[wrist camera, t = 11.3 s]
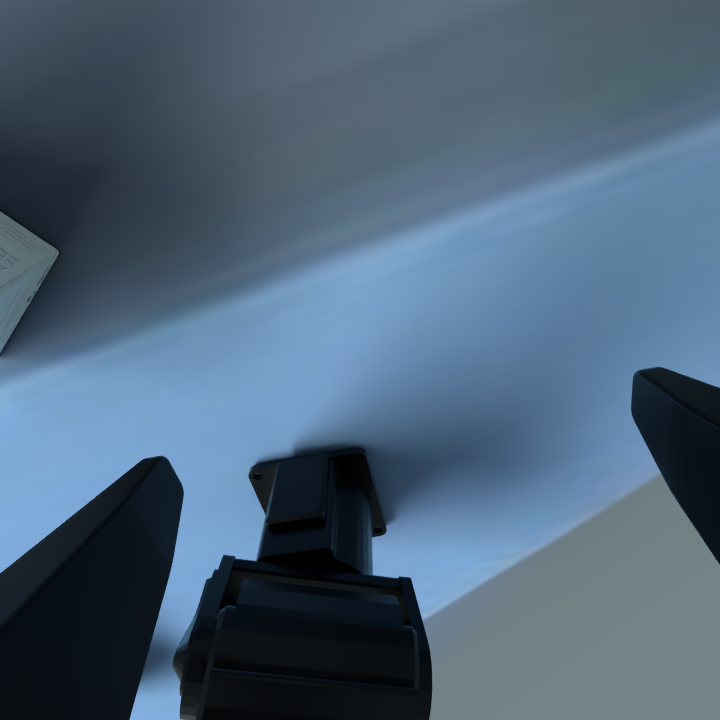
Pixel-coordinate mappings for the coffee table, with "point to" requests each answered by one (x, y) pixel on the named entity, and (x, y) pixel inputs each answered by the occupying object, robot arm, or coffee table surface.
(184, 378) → the coffee table surface
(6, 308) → the supplement box
